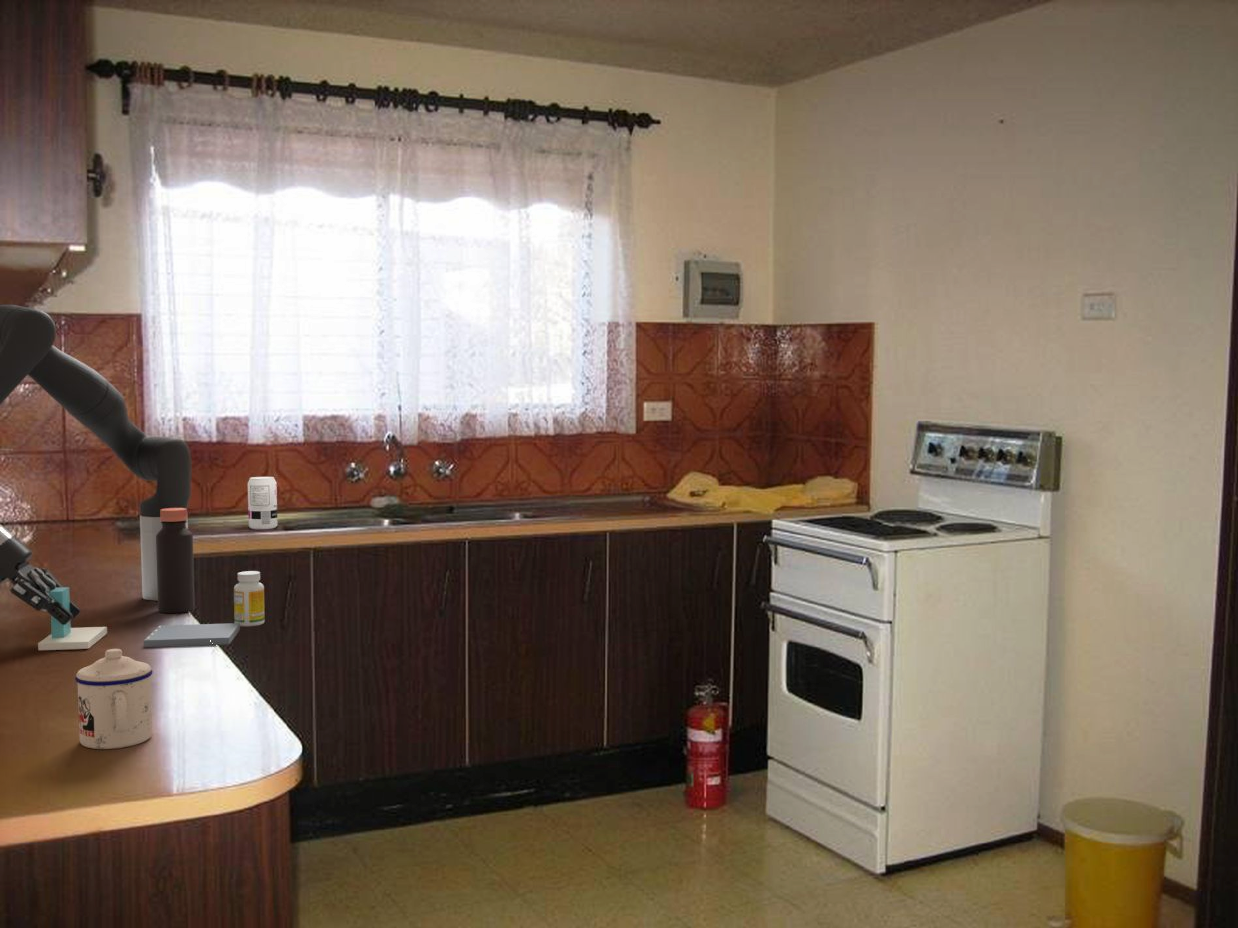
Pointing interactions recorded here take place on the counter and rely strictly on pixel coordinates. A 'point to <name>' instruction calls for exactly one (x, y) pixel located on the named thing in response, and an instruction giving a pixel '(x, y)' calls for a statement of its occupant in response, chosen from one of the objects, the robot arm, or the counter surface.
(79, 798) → the counter surface
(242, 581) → the supplement bottle
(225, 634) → the board
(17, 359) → the robot arm
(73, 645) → the teal block on base
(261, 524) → the supplement can
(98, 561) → the counter surface
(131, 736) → the teacup with lid
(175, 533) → the vinegar
